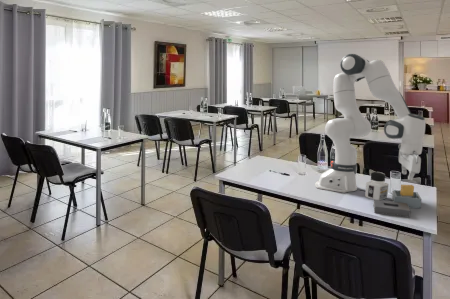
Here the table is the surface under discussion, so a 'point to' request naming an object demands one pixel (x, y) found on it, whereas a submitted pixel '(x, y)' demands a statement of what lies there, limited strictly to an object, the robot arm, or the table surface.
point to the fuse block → (391, 208)
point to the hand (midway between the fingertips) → (406, 176)
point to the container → (377, 187)
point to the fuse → (407, 191)
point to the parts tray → (407, 199)
